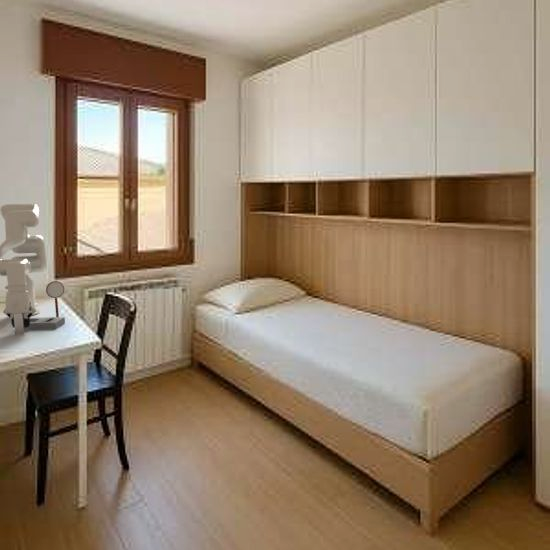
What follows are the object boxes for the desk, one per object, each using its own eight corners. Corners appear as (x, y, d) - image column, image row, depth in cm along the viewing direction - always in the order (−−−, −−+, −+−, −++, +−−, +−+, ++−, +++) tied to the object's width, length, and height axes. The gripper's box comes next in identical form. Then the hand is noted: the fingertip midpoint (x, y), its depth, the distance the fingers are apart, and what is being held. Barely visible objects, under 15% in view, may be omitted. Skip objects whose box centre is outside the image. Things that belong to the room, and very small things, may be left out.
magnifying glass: (49, 321, 246) (45, 282, 243) (48, 320, 247) (45, 281, 244) (67, 318, 251) (64, 280, 248) (66, 317, 252) (63, 280, 249)
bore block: (26, 323, 241) (25, 317, 240) (65, 322, 242) (64, 317, 241) (15, 329, 230) (14, 323, 230) (56, 328, 231) (55, 322, 230)
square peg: (19, 331, 227) (17, 310, 225) (28, 331, 227) (26, 310, 225) (15, 333, 223) (13, 312, 221) (24, 333, 223) (22, 312, 221)
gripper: (-6, 290, 218) (-2, 329, 220) (32, 289, 218) (36, 328, 221) (2, 287, 225) (6, 325, 228) (40, 286, 226) (43, 324, 228)
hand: (21, 326), depth 224 cm, fingers open, 4 cm apart
